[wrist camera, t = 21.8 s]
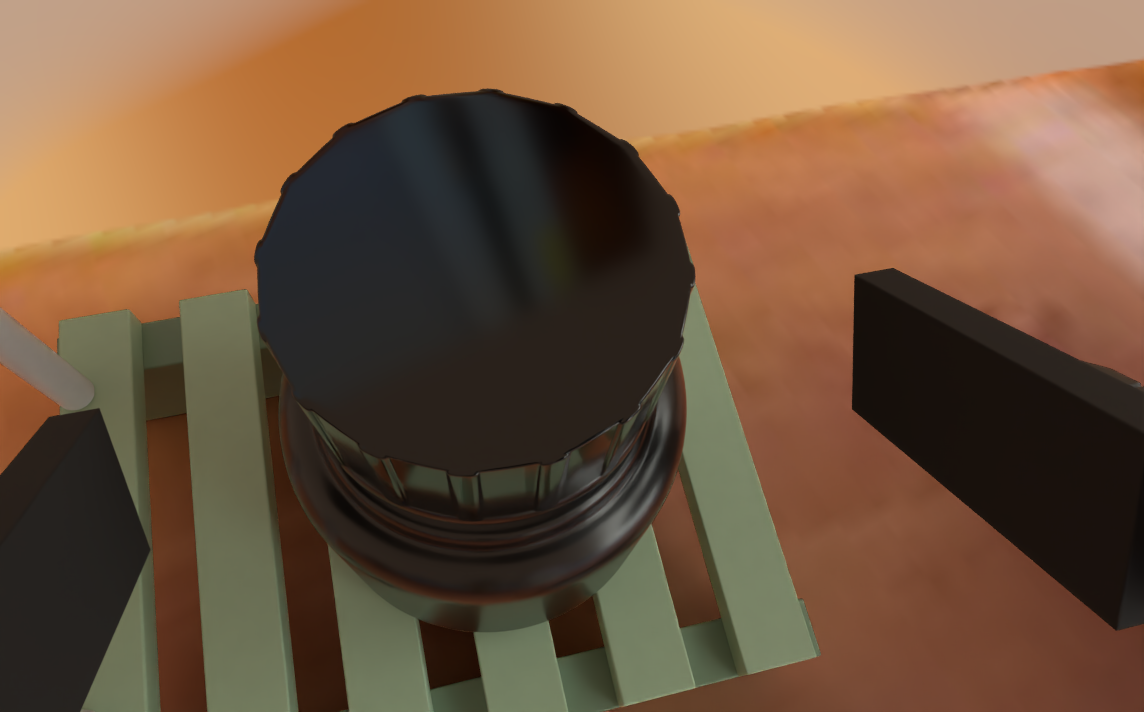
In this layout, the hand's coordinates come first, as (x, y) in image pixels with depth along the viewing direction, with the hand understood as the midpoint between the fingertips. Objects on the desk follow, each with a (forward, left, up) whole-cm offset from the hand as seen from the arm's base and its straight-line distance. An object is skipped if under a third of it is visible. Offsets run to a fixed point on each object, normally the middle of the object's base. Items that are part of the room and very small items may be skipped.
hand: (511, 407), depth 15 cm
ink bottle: (0, -2, -10) cm, 10 cm away
